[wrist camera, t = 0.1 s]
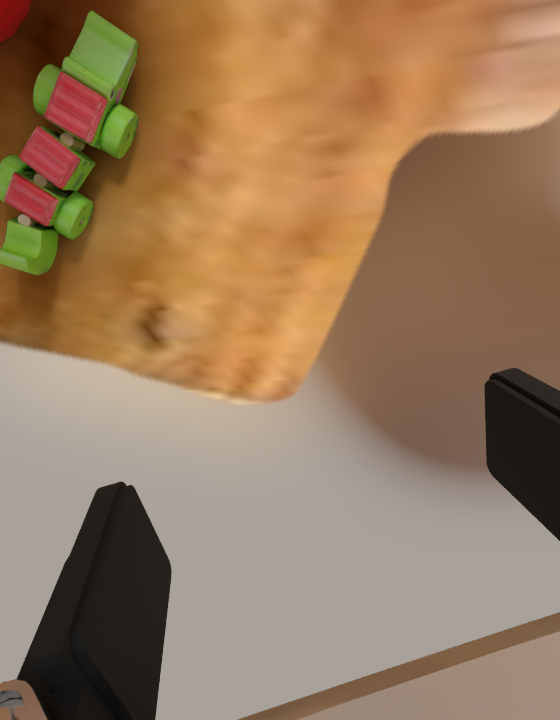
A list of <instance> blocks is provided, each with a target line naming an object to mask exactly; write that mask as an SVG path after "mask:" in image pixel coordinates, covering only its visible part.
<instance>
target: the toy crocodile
mask: <svg viewBox="0 0 560 720" xmlns="http://www.w3.org/2000/svg"><path fill="white" fill-rule="evenodd" d="M137 51H138V42H137V41H136V40H135V39H133V38H132V37H130V36H129V35H127V34H126V33H124V32H123V31H121V30H120V29H119V28H117V27H116V26H114V25H113V24H111V23H110V22H108V21H107V20H105V19H104V18H102V17H101V16H99V15H98V14H97V13H95V12H94V11H92V10H91V11H90V12H89V13H88V15H87V17H86V21H85V24H84V27H83V29H82V31H81V33H80V35H79V37H78V39H77V41H76V43H75V45H74V47H73V49H72V51H71V53H70V55H69V57H65V58H64V60H63V63H62V69H60V68H58V67H57V66H55V65H53V64H48V65H46V66H45V67H44V68H43V69H42V70H41V72H40V73H39V75H38V77H37V79H36V82H35V86H34V91H33V104H34V108H35V110H36V111H37V112H38V113H39V114H40V115H42V116H44V118H46V120H47V121H49V122H50V123H52V124H54V125H55V126H57V127H58V128H60V129H62V130H64V131H65V132H63V133H62V134H59V133H58V132H56V131H53V130H50V129H47V128H45V127H42V126H37V127H36V128H35V130H34V131H33V133H32V135H31V137H30V138H29V140H28V141H27V143H26V145H25V147H24V149H23V151H22V152H21V154H20V155H19V156H17V155H9V156H7V157H5V158H4V159H3V160H2V161H1V162H0V201H2V202H4V203H6V204H7V205H9V206H12V207H13V208H15V209H17V210H19V211H21V212H22V213H23V214H21V215H19V216H18V217H15V218H13V219H11V220H9V221H8V222H7V231H6V237H5V242H4V245H3V247H2V248H1V249H0V264H2V265H5V266H8V267H11V268H15V269H18V270H21V271H24V272H27V273H30V274H34V275H41V274H43V273H45V272H47V271H48V270H49V269H50V268H51V266H52V264H53V262H54V259H55V257H56V252H57V245H58V233H60V234H62V235H63V236H65V237H67V238H68V239H71V240H74V239H75V238H77V237H78V236H79V235H80V234H81V233H82V231H83V230H84V229H85V227H86V226H87V224H88V222H89V220H90V218H91V216H92V213H93V209H94V204H93V202H92V201H91V200H89V199H88V198H86V197H84V196H83V195H81V194H80V193H78V192H77V191H78V190H79V188H80V187H81V186H82V184H83V182H84V181H85V179H86V178H87V176H88V175H89V173H90V172H91V170H92V169H93V167H94V166H95V162H94V161H93V160H92V159H90V158H89V157H88V156H87V155H85V154H84V153H83V152H82V150H83V149H84V147H85V144H84V142H85V143H87V144H89V145H91V146H93V147H96V148H98V149H100V150H104V151H105V152H107V153H109V154H110V155H112V156H114V157H115V158H118V159H120V158H122V157H123V156H124V155H125V154H126V152H127V151H128V149H129V147H130V145H131V143H132V141H133V139H134V136H135V133H136V130H137V126H138V116H137V115H136V114H135V113H134V112H133V111H131V110H130V109H128V108H127V107H125V106H123V105H121V104H120V103H121V101H122V98H123V96H124V93H125V90H126V88H127V85H128V82H129V79H130V77H131V74H132V72H133V69H134V67H135V64H136V61H137ZM36 171H37V172H38V174H36ZM58 187H59V188H61V189H63V190H72V191H74V192H73V193H72V194H70V195H68V194H66V193H65V192H63V191H61V190H60V189H58ZM52 225H53V226H54V228H53V227H50V226H52Z"/></svg>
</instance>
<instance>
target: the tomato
mask: <svg viewBox="0 0 560 720" xmlns="http://www.w3.org/2000/svg"><path fill="white" fill-rule="evenodd" d="M30 4H31V0H0V43H2V42H3V41H5V40H7V39H8V38H10V37H12V36H13V35H14V34H15V32H16V31H17V29H18V28H19V26H20V25H21V23H22V22H23V20H24V19H25V17H26V16H27V14H28V12H29V8H30Z"/></svg>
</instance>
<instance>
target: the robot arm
mask: <svg viewBox="0 0 560 720" xmlns="http://www.w3.org/2000/svg"><path fill="white" fill-rule="evenodd" d="M485 419H486V451H487V452H486V455H487V466H488V469H489V471H490V473H491V474H492V476H493V477H494V478H495V479H496V480H497V481H498V482H499V483H500V484H501V485H503V487H504V488H506V489H507V490H508V491H509V492H510V493H511V494H512V495H513V496H514V497H515V498H516V499H517V500H518V501H519V502H520V503H521V504H522V505H523V506H524V507H525V508H526V509H527V510H528V511H529V512H530V513H531V514H532V515H534V517H536V518H537V519H538V520H539V521H540V522H541V523H542V524H543V525H544V526H545V527H546V528H547V529H548V530H549V531H550V532H551V533H552V534H553V535H554V536H555V537H556V538H557V539H558V540H559V541H560V391H559V390H557V389H555V388H553V387H551V386H549V385H547V384H546V383H544V382H542V381H540V380H538V379H536V378H534V377H532V376H531V375H529V374H527V373H525V372H523V371H521V370H519V369H517V368H511V369H507V370H504V371H501V372H497V373H493V374H492V375H491V376H490V378H489V381H487V382H486V383H485ZM170 583H171V565H170V561H169V559H168V557H167V554H166V553H165V551H164V548H163V546H162V544H161V542H160V540H159V538H158V536H157V534H156V532H155V530H154V527H153V525H152V523H151V521H150V519H149V517H148V515H147V513H146V511H145V509H144V507H143V505H142V502H141V500H140V498H139V496H138V494H137V492H136V490H135V488H134V487H133V486H132V485H129V486H126V484H125V483H124V482H118V483H115V484H111V485H108V486H104V487H101V488H99V489H97V491H96V492H95V495H94V497H93V500H92V502H91V505H90V507H89V510H88V512H87V514H86V517H85V519H84V522H83V524H82V527H81V529H80V531H79V534H78V536H77V539H76V541H75V544H74V546H73V549H72V551H71V553H70V556H69V557H68V559H67V560H66V562H65V564H64V567H63V569H62V572H61V574H60V576H59V579H58V581H57V583H56V586H55V588H54V591H53V593H52V596H51V598H50V600H49V603H48V605H47V608H46V610H45V612H44V615H43V617H42V620H41V622H40V624H39V627H38V629H37V632H36V634H35V636H34V639H33V641H32V644H31V646H30V648H29V651H28V653H27V656H26V658H25V661H24V663H23V665H22V668H21V670H20V673H19V675H18V677H17V680H11V681H7V682H3V683H1V684H0V720H155V716H156V707H157V698H158V690H159V681H160V672H161V663H162V654H163V644H164V636H165V628H166V618H167V610H168V609H167V608H168V601H169V592H170ZM238 720H560V612H559V613H556V614H553V615H550V616H547V617H544V618H541V619H537V620H534V621H531V622H528V623H525V624H522V625H519V626H516V627H513V628H510V629H507V630H504V631H501V632H498V633H495V634H492V635H489V636H486V637H482V638H480V639H477V640H473V641H471V642H467V643H464V644H462V645H458V646H455V647H452V648H449V649H447V650H443V651H440V652H437V653H434V654H431V655H428V656H425V657H422V658H419V659H416V660H413V661H410V662H407V663H404V664H401V665H398V666H395V667H392V668H389V669H386V670H383V671H380V672H377V673H374V674H371V675H368V676H365V677H362V678H359V679H356V680H353V681H350V682H347V683H344V684H341V685H339V686H336V687H332V688H329V689H326V690H324V691H321V692H318V693H315V694H312V695H309V696H306V697H303V698H300V699H297V700H294V701H291V702H288V703H285V704H282V705H279V706H276V707H273V708H270V709H268V710H264V711H262V712H259V713H256V714H253V715H250V716H247V717H244V718H241V719H238Z"/></svg>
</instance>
